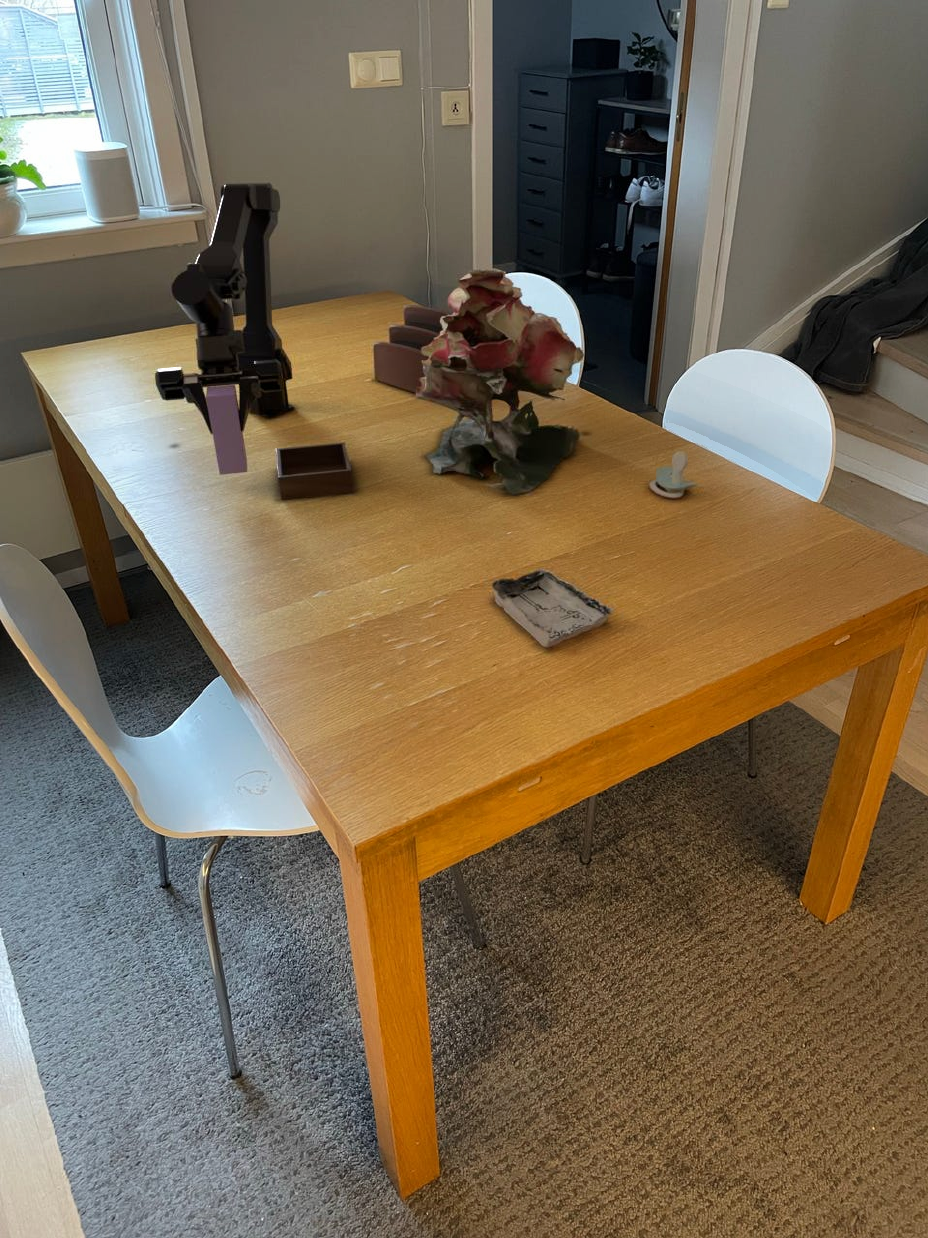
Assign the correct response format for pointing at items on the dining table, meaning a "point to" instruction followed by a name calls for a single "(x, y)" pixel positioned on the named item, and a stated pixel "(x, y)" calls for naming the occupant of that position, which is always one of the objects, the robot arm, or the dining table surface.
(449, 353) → the rose bouquet
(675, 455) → the pacifier
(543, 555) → the dining table surface
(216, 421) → the block
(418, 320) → the letter holder
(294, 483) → the tray
